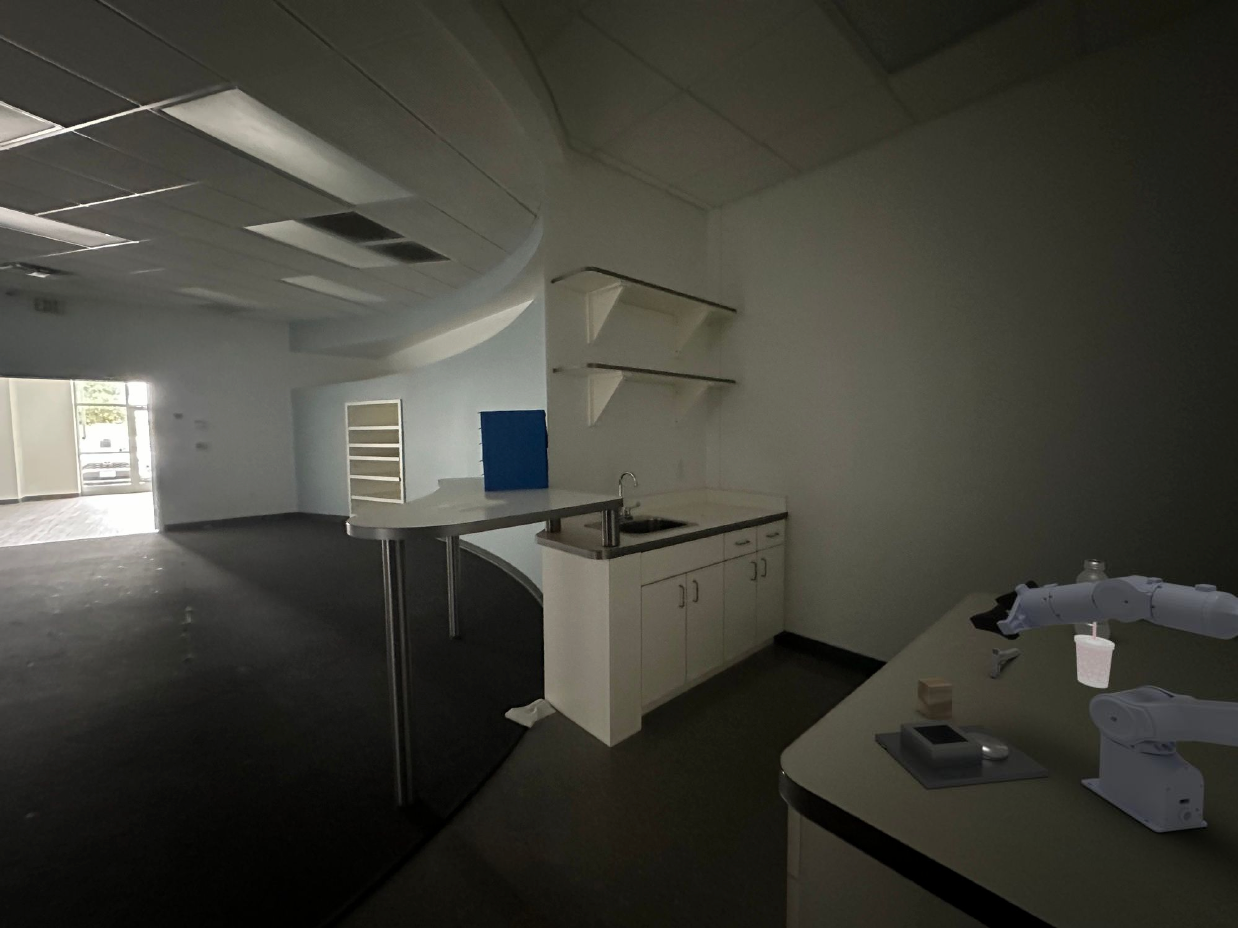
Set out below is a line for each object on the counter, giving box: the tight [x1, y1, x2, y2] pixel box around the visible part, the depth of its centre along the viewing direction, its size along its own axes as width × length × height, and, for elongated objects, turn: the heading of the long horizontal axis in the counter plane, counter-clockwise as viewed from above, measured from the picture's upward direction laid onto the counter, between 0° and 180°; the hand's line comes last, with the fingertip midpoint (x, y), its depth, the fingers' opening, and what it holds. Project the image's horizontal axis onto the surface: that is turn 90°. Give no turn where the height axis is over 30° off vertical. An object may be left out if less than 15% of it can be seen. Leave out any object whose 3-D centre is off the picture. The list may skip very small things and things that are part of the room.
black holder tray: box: [874, 719, 1050, 790], centre depth 79 cm, size 12×20×4 cm, turn 97°
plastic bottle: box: [1074, 559, 1111, 640], centre depth 124 cm, size 6×7×20 cm
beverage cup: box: [1074, 622, 1115, 689], centre depth 103 cm, size 6×6×14 cm
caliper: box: [989, 647, 1022, 679], centre depth 112 cm, size 20×1×6 cm, turn 129°
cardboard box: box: [917, 677, 953, 720], centre depth 92 cm, size 3×4×6 cm, turn 97°
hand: (986, 612), depth 90 cm, fingers open, 7 cm apart
